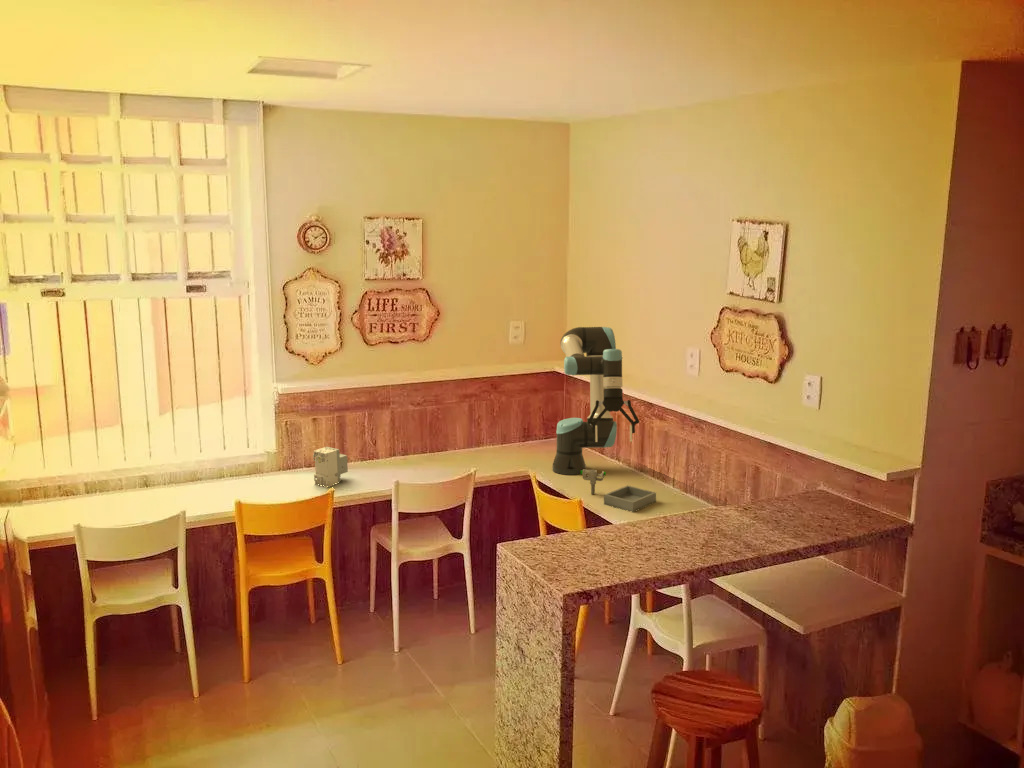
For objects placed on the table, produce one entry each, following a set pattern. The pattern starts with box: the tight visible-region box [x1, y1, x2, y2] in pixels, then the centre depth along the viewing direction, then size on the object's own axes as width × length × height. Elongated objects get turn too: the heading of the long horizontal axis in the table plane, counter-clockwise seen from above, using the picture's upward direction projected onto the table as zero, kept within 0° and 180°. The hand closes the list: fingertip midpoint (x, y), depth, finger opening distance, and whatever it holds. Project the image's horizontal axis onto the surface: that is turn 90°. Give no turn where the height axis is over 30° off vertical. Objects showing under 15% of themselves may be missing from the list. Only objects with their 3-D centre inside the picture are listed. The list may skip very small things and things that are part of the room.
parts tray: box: [603, 484, 657, 513], centre depth 357 cm, size 16×14×4 cm
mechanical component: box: [580, 468, 607, 495], centre depth 367 cm, size 3×10×10 cm, turn 78°
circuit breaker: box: [312, 446, 349, 488], centre depth 383 cm, size 8×14×15 cm, turn 146°
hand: (613, 441), depth 351 cm, fingers open, 13 cm apart
